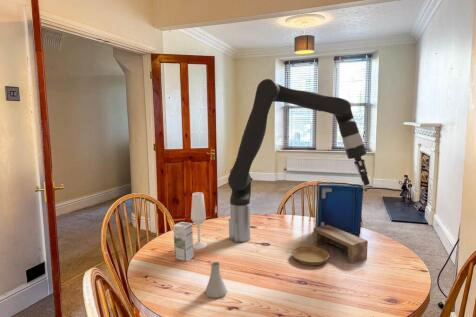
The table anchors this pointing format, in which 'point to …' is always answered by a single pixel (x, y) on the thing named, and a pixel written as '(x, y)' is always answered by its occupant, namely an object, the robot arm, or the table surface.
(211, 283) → the flask
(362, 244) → the walnut shelf
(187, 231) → the syrup box
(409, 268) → the table surface
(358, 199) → the book
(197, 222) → the champagne flute
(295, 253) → the plant saucer
